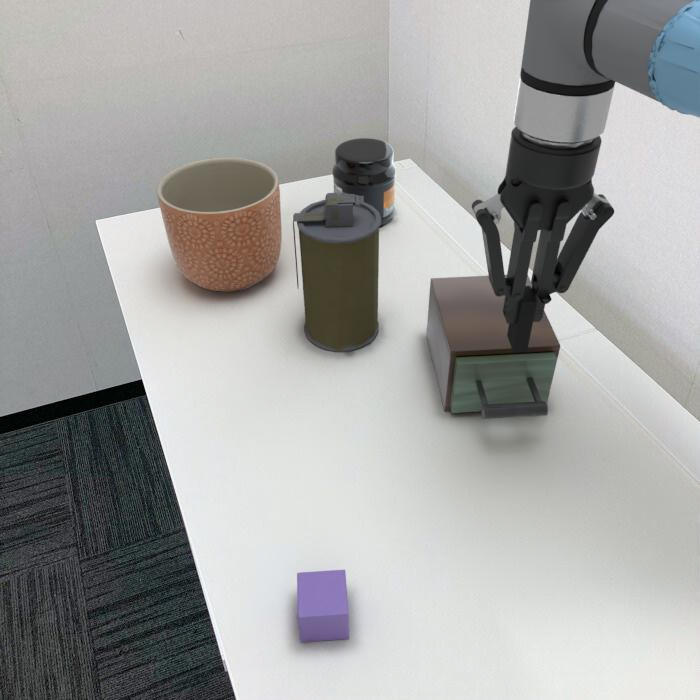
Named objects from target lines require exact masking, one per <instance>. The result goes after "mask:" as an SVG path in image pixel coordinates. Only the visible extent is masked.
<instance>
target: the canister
mask: <svg viewBox="0 0 700 700" xmlns="http://www.w3.org/2000/svg"><path fill="white" fill-rule="evenodd" d="M359 200H360V198H359V196H358V195H356V196H355V194H338V193H334V192H327V193H326V194H325V198H324V199H322V200H319V201H315V202H313V203H310V204H309V205H307V206H306V207H304V208H302V209H301V210H300V211H299V212H294V213H293V215H292V230H293V243H294V257H295V272H296V284H297V288H299V286H300V285H299V274H298V272H299V271H298V257H297V245H296V231H295V222H296V225H297V228H298V237H299V250H300V252H299V253H300V265H301V279H302V293H303V306H304V320H305V322H304V325H303V331H304V334H305V337H306V339H308V340H309V342H311V344H313V345H314V346H316V347H318V348H321V349H322V350H323V349H324V350H326V351H331V352H351V351H356V350H359V349H361V348H363V347H365V346H367V345H369V344H371V343H372V342H373V341H374V340H375V338H376V337H377V336H378V334H379V330H380V323H379V314H378V313H379V264H380V263H379V262H380V259H379V258H380V227H381V225H380V224H381V217H380V213H379V212H378V211H377V210H376V209H375V208H374V207H373V206H371V205H369V204H367V203H365V202H362V201H359Z"/></svg>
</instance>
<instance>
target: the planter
mask: <svg viewBox="0 0 700 700" xmlns="http://www.w3.org/2000/svg"><path fill="white" fill-rule="evenodd" d="M280 190H281V189H280V181H279V176H278V174H277V172H276V171H275V170H274V169H273V168H271V167H270V166H268V165H267V164H265V163H262V162H261V161H257V160H253V159H250V158H243V157H232V156H230V157H228V156H227V157H226V156H225V157H224V156H223V157H222V156H221V157H210V158H204V159H200V160H195V161H191V162H188V163H185V164H182V165H180V166H178V167H176V168H174V169H172V170H171V171H169V172H168V173H167V174H165V175H164V176H163V177H162V178H161V179H160V181H159V182H158V184H157V187H156V194H157V200H158V205H159V209H160V213H161V217H162V221H163V225H164V230H165V233H166V238H167V241H168V245H169V248H170V252H171V255H172V257H173V260H174V262H175V265H176V267H177V269H178V270H179V272H180V273H181V274H182V275H183V276H184V277H185V278H186V279H187V280H188V281H189V282H191V283H193V284H194V285H197V287H200V288H203V289H206V290H209V291H213V292H219V293H220V292H221V293H222V292H223V293H229V292H231V293H232V292H237V291H242V290H246V289H249V288H251V287H253V286H255V285H257V284H258V283H260V282H261V281H263V280H265V279H266V278H267V277H268V276H269V275H270V274H271V273H272V272H273V270H274V269H275V267H276V266H277V264H278V262H279V259H280V256H281V250H282V239H283V238H282V237H283V236H282V235H283V234H282V233H283V232H282V212H281V211H282V210H281V209H282V208H281V191H280Z"/></svg>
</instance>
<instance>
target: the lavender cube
mask: <svg viewBox="0 0 700 700" xmlns="http://www.w3.org/2000/svg"><path fill="white" fill-rule="evenodd" d="M346 573H347V572H346V569H333V570H332V569H331V570H318V571H305V572H297V573H296V583H297V584H296V587H297V588H296V591H297V593H296V594H297V600H296V601H297V605H296V606H297V623H298V631H299V641H300V643H309V642H310V643H311V642H324V641H338V640H350V619H349V617H350V616H349V614H350V613H349V601H348V587H347V574H346Z"/></svg>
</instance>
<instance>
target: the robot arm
mask: <svg viewBox="0 0 700 700" xmlns="http://www.w3.org/2000/svg"><path fill="white" fill-rule="evenodd" d="M527 16H528V17H527V21H526V22H527V23H526V29H525V37H524V45H523V51H522V52H523V53H522V58H521V64H520V65H521V66H520V75H519V80H518V88H517V94H516V101H515V107H514V114H513V119H512V120H513V124H514V127H513V128H512V130H511V134H510V140H509V147H508V154H507V161H506V168H505V175H504V177H503V179H502V181H501V182H500V184H499V185H498V188H497V193H496V194H495V195H493V196H491V197H490V198H488V199H486V200H485V201H484V200H483V199H476V200H474V201H473V202H472V204H471V209H472V212H473V214H474V217H475V218H476V222H477V223H478V224H479V225H478V226H480V228H481V232H482V233H481V234H482V235H481V236H482V241H483V248H484V254H485V260H486V267H487V276H489V280H490V283H491V286H492V288H493V291H494V293H495V295H496V296H498V297H500V296H503V295H504V296H505V300H504V307H503V314H504V317H505V319H506V322H507V324H508V323H509V328H508V334H507V337H508V339H509V342H510V345H511V347H512V350H513V352H523V351H527V350H528V345H529V340H530V335H531V330H532V325H533V322H540V320H541V319H542V317H543V313H544V311H545V307H546V305H547V304H549V303H550V302H552V296H551V295H552V294H554V293H558V294H565V293H567V291H568V290H569V288H570V286H571V285H572V282H573V281H574V279H575V277H576V276H577V274H578V271H579V269H580V267H581V265H582V264H583V262H584V260H585V258H586V255H588V252H589V251H590V248H591V245H593V242H594V240H595V238H596V236H597V234H598V232H599V230H600V229H601V228H602V227H603V226H604V225H605V224H606V223H607V222H608V221H609V220H610V219H611V218H612V217H613V216H614V214H615V209H614V207H613V206H612V204H611V203H610V202H609V200H608V199H607V198H606V196H605V195H604V194H602V193H600V194H597V193H595V187H594V184H593V177H594V175H595V171H596V168H597V163H598V159H599V158H598V157H599V155H600V150H601V145H602V141H603V140H602V137H601V135H602V134H604V132H605V129H606V126H607V121H608V116H609V112H610V107H611V102H612V98H613V95H614V90H615V85H616V83H617V84H620V85H621V86H624V87H626V88H628V89H630V90H633V91H634V92H636V93H639V94H641V95H643V96H645V97H647V98H649V99H651V100H654V101H656V102H658V103H660V104H661V105H662V106H665V107H667V109H669V110H671V111H676V112H677V113H680V114H681V115H689V116H693V117H696V118H699V119H700V0H530V1H529V7H528V14H527ZM503 208H504V209H505V211H506V212H507V214H508V215H509V217H510V218H511V219H512V221H513V228H514V231H513V237H512V243H511V249H510V253H509V254H510V255H509V260H508V265H507V266H508V267H507V273H506V274H505V268H504V259H503V253H502V252H503V251H502V245H501V236H500V231H499V228H498V226H497V225H498V224H500V221H501V219H502V214H501V211H502V210H503ZM576 215H578V216H577V218H576V220H575V222H574V224H573V225H572V228H571V230H570V232H569V233H568V236H567V238H566V240H565V243H564V244H563V246H562V247H561V250H560V246H561V242H563V241H564V239H565V232H566V229H567V224H569V222H571V221H572V220H573V219H574V218H575V216H576ZM538 232H540V233H539V237H538ZM537 238H538V242H537V248H536V253H535V258H534V263H533V269H532V274H531V279H530V281H531V284H532V288H531V287H530V286H526V280H527V275H528V276H529V269H530V264H531V258H532V254H533V248H534V243H536V241H537ZM559 251H560V252H559ZM505 275H507V278H505Z"/></svg>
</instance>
